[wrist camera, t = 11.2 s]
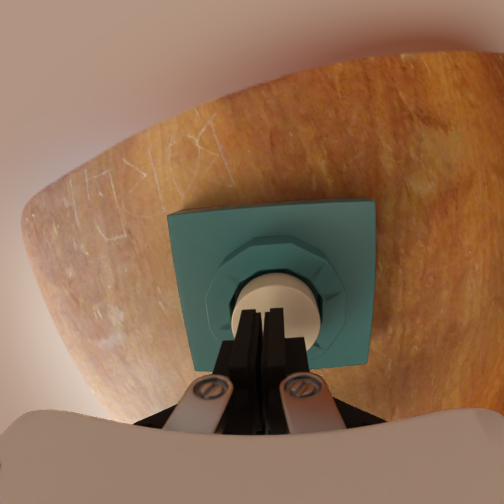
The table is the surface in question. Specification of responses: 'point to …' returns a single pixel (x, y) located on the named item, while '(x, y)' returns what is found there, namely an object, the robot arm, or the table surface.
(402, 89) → the table surface
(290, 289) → the button
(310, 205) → the button block
